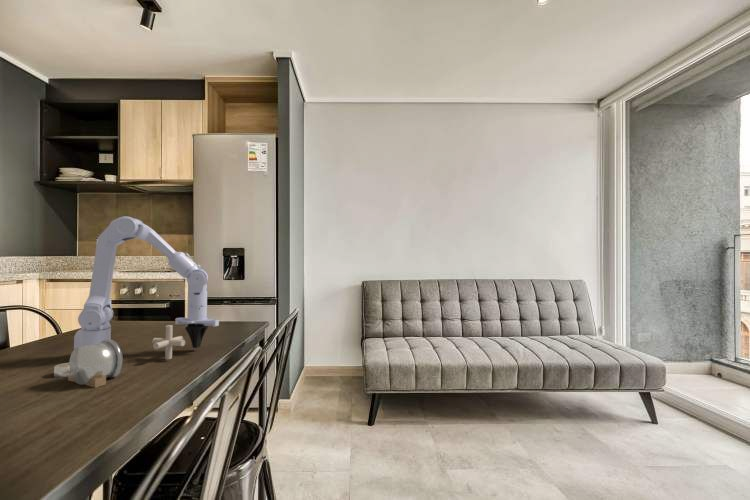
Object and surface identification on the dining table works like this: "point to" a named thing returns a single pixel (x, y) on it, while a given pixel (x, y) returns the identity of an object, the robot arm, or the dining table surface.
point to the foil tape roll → (61, 370)
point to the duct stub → (95, 363)
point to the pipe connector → (168, 342)
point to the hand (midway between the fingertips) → (196, 347)
